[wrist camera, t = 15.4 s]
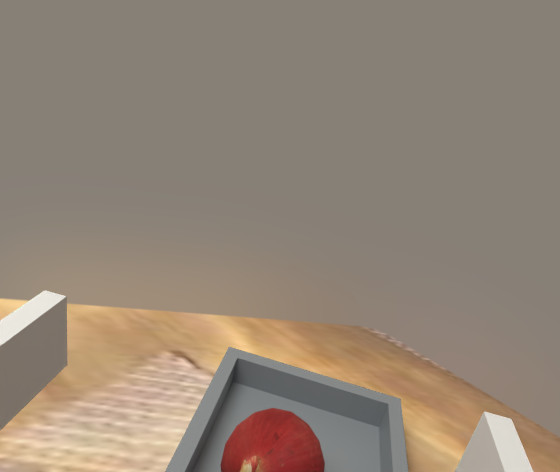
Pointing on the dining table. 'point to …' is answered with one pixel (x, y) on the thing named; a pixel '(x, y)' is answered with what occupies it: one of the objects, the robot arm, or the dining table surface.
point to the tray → (302, 402)
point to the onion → (272, 445)
